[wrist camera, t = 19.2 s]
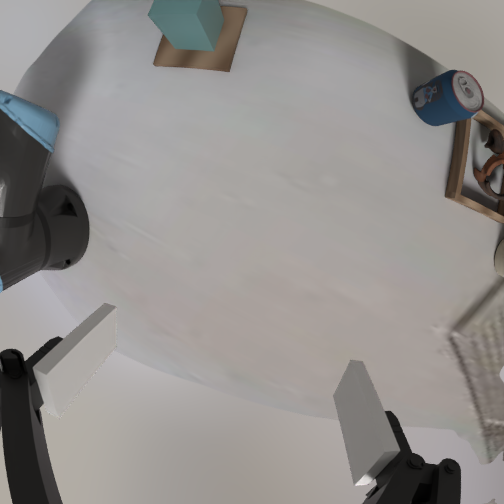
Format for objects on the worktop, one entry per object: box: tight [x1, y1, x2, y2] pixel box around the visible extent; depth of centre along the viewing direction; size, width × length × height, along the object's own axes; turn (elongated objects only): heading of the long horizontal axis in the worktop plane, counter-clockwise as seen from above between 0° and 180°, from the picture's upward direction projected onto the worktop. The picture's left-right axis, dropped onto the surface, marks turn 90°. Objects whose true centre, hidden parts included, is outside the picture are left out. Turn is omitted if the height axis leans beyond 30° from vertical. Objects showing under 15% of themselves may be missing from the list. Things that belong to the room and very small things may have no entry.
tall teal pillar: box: [148, 0, 224, 51], centre depth 28 cm, size 6×6×12 cm
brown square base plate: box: [153, 6, 247, 72], centre depth 30 cm, size 12×12×9 cm
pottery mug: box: [474, 129, 504, 200], centre depth 34 cm, size 12×10×8 cm
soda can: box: [413, 70, 484, 126], centre depth 29 cm, size 7×7×12 cm
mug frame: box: [445, 110, 504, 224], centre depth 35 cm, size 15×17×3 cm
